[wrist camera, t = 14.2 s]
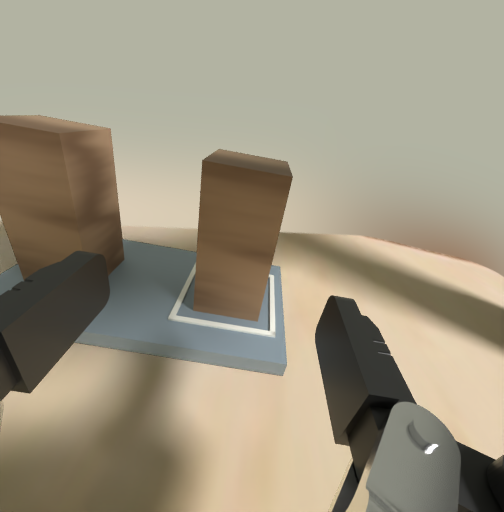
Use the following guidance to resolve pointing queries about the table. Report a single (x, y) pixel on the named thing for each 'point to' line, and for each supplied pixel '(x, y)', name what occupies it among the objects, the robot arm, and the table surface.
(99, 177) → the built pillar
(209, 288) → the pillar
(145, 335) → the board
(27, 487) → the table surface
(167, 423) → the table surface
